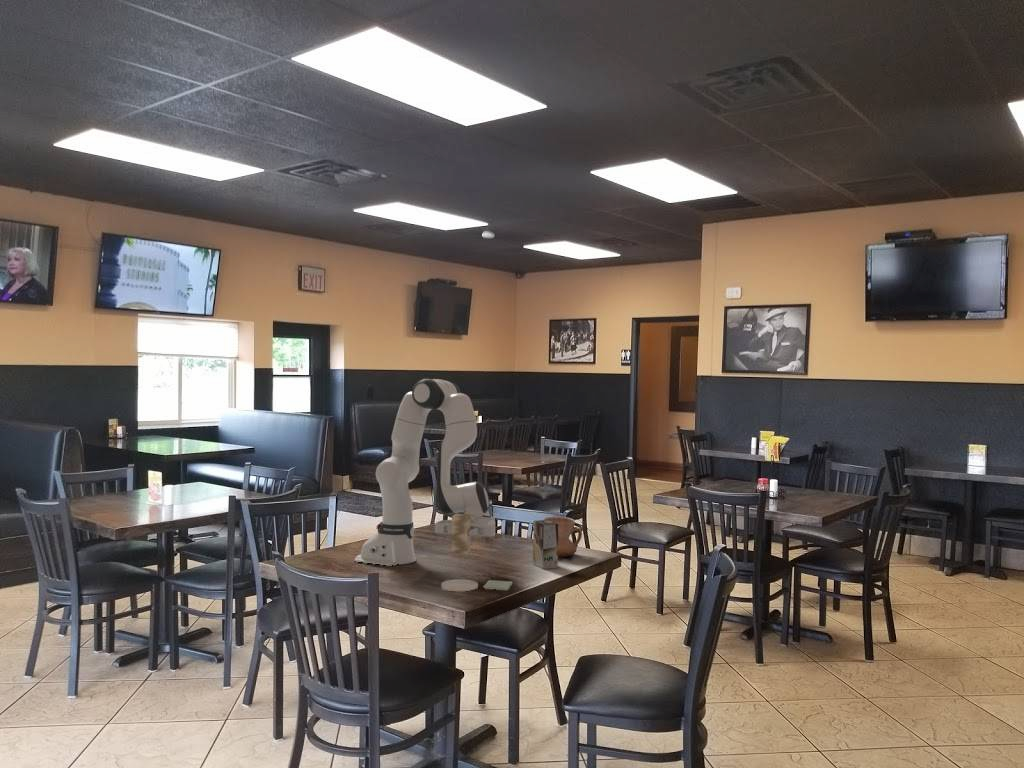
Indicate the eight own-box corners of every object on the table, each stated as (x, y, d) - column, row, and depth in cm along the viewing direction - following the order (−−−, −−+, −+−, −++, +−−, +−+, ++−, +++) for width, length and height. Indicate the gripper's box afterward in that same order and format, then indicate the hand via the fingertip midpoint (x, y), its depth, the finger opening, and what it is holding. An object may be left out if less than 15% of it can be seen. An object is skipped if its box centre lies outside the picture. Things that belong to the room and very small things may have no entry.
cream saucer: (436, 590, 244) (436, 587, 244) (446, 581, 255) (446, 578, 255) (473, 593, 241) (473, 590, 241) (481, 583, 253) (481, 580, 253)
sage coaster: (483, 588, 247) (483, 586, 247) (488, 582, 255) (488, 580, 255) (507, 590, 245) (507, 587, 245) (512, 584, 253) (512, 581, 253)
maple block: (451, 553, 247) (451, 516, 247) (455, 549, 251) (455, 513, 251) (466, 554, 246) (466, 516, 246) (470, 550, 251) (470, 514, 251)
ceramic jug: (539, 560, 288) (541, 522, 288) (532, 551, 302) (534, 515, 302) (586, 560, 291) (587, 523, 291) (577, 551, 305) (578, 516, 305)
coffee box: (558, 567, 276) (559, 523, 276) (542, 569, 274) (543, 524, 274) (547, 562, 285) (548, 519, 285) (531, 563, 282) (532, 520, 282)
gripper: (440, 514, 263) (429, 521, 249) (498, 517, 259) (490, 524, 245) (440, 532, 263) (429, 540, 249) (498, 535, 259) (490, 544, 245)
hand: (460, 532), depth 247 cm, fingers closed on maple block, 5 cm apart
